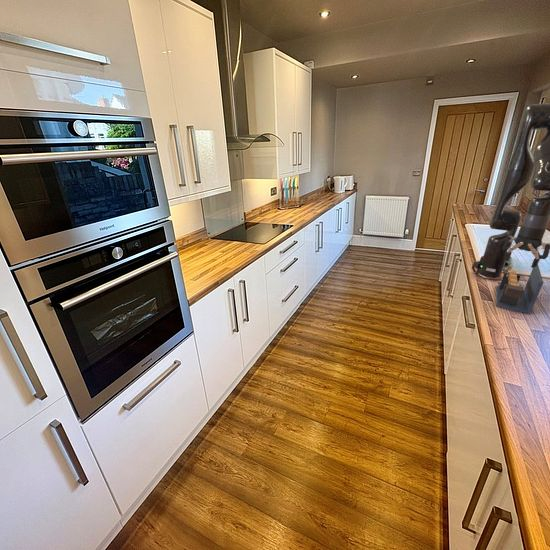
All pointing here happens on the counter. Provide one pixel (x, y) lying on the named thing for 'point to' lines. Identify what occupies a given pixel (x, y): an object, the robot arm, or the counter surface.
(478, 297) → the counter surface
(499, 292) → the rack
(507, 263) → the knee model
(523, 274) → the counter surface
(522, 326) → the counter surface
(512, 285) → the brush
